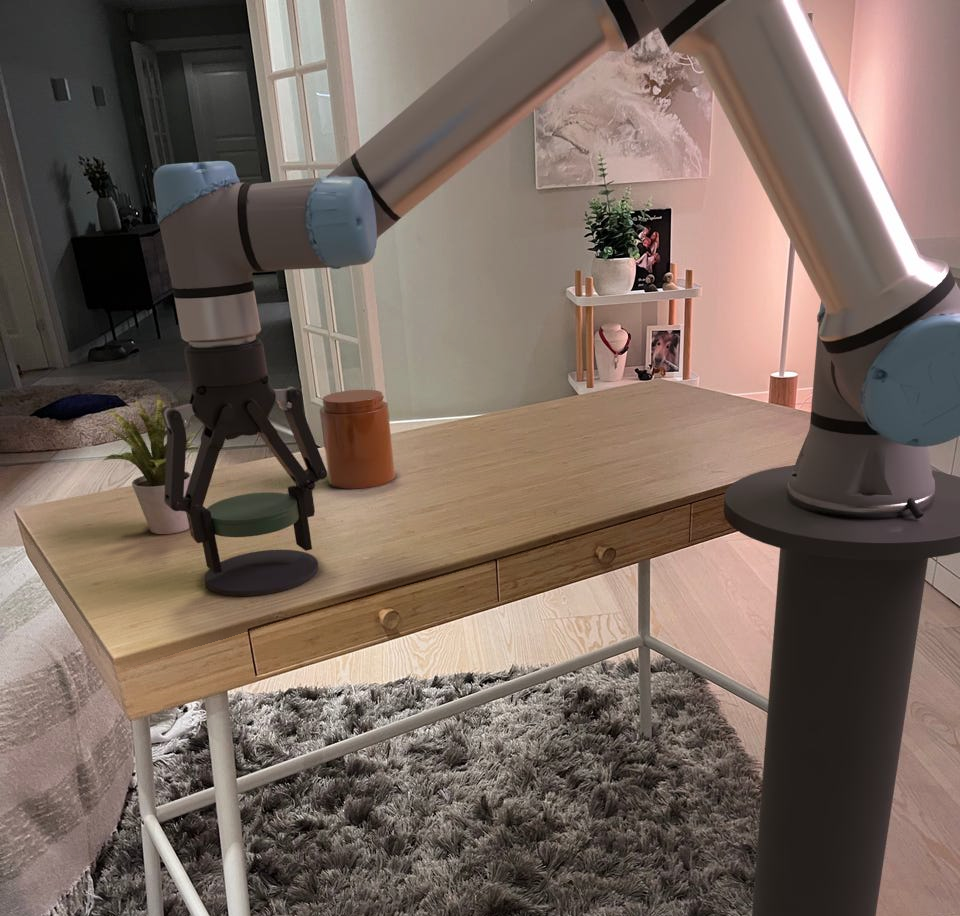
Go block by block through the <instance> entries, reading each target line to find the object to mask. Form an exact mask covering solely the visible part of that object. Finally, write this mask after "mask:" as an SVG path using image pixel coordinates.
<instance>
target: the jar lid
mask: <svg viewBox="0 0 960 916" xmlns="http://www.w3.org/2000/svg"><path fill="white" fill-rule="evenodd" d="M206 509H208V510H209V511H210V512H211V517H212V523H213V528H214V533H215V536H218V537H225V538H249V537H250V538H251V537H256V536H263V535H268V534H272V533H275V532H279V531H282V530H284V529H287V528H289V527H291V526H292V525H293V524H294V523H295V522H296V521H297V520H298V519H299V512H298V506H297V500H296V498H295V497H293V496H292V495H289V493H285V492H273V491H270V492H269V491H266V492H265V491H263V492H253V493H252V492H251V493H245V494H240V495H235V496H232V497H227V498H224V499H221V500H218V501H216V502H214V503H212V504H211V505H209V506H208V507H207V508H206ZM293 526H294V525H293Z"/></svg>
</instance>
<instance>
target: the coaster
mask: <svg viewBox="0 0 960 916" xmlns="http://www.w3.org/2000/svg"><path fill="white" fill-rule="evenodd" d="M220 564H221V569H222V572H220V573H216V574H215V573H214V572H213V571H211V570H210V569H209V568H208V570H207V571H206V572H205V574H204V583H205V587H207V589H208V590H210V591H212V592H214V593H215V594H220V595H224V596H229V597H256V596H263V595H264V596H265V595H269V594H276V593H280V592H283V591H287V590H290V589H294V588H297V587H298V586H302V585H303V584H304V583H307V582H308V581H310V580H311V579H312V578H314V577H316V574H317V573H318V572H319V568H320V567H319V561H318V560H317V558H316V557H315V556H314V555H312V554H311V553H308V552H306V551H300V550H295V549H266V550H257V551H251V552H247V553H243V554H239V555H235V556H232V557H229V558H226V559H224V560H221V561H220Z"/></svg>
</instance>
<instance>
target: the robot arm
mask: <svg viewBox="0 0 960 916" xmlns="http://www.w3.org/2000/svg"><path fill="white" fill-rule="evenodd" d="M804 5H805V4H804V3H803V1H802V0H531V1H530V2H528V4H526V5H525V6H524V7H523V8H522V9H521V10H519V11H518V12H517V13H516V14H514V16H512V17H511V18H510V19H508V21H506V22H505V23H504V24H503V25H502V26H501V27H499V28H498V29H497V30H496V31H494V32H493V33H492V34H491V35H490V36H489V37H488V38H487V39H485V40H484V41H483V42H482V43H480V44H479V45H478V46H477V47H476V48H475V49H473V50H472V52H470V53H469V54H468V55H466V56H465V57H464V58H463V59H462V60H461V61H460V62H459V63H457V64H456V65H455V66H454V67H453V68H451V70H449V71H448V72H447V73H446V74H444V75H443V76H442V77H441V78H440V79H439V80H438V81H436V82H435V83H434V84H433V85H431V86H430V87H429V88H428V89H427V90H426V91H424V92H423V93H422V94H421V95H420V96H419V97H418V98H417V99H415V100H414V101H413V102H412V103H411V104H410V105H408V106H407V107H406V108H405V109H404V110H402V111H401V112H400V113H399V114H398V115H397V116H395V117H394V118H393V119H392V120H391V121H389V122H388V123H387V124H386V125H385V126H383V128H381V130H379V131H378V132H377V133H376V134H375V135H373V136H372V137H371V138H370V139H368V140H367V141H366V142H365V143H364V144H363V145H361V146H360V147H359V148H358V149H356V151H355V152H354V153H353V154H352V155H350V156H349V157H348V158H346V159H345V160H344V161H343V162H341V163H340V164H339V165H338V166H337V167H335V169H333V170H332V171H331V172H329V174H327V175H326V176H320V177H312V178H311V177H310V178H300V179H289V180H287V179H286V180H279V181H277V180H276V181H268V182H258V183H255V182H241V181H240V177H238V175H237V169H236V167H235V165H234V164H233V163H232V162H230V161H227V160H215V161H213V160H212V161H201V162H199V161H198V162H197V161H196V162H181V163H170V164H163V165H161V166H159V167H158V168H157V169H156V170H155V172H154V173H153V179H152V182H153V188H154V196H155V204H156V211H157V218H156V221H157V225H158V226H159V230H160V234H161V239H162V243H163V249H164V253H165V258H166V262H167V263H166V264H167V267H168V273H169V277H170V282H171V287H172V290H171V291H172V293H173V294H172V295H173V297H174V304H175V309H176V315H177V320H178V321H177V322H178V325H179V332H180V336H181V337H180V339H182V340H183V341H185V342H188V345H186V346H185V349H184V350H183V353H184V359H185V365H186V369H187V375H188V379H189V385H190V389H191V390H190V391H191V394H190V399H189V401H188V403H186V404H181V405H177V406H175V407H172V406H169V405H168V406H167V405H166V406H165V407H164V408H163V409H162V415H163V419H164V422H165V429H166V430H167V435H166V443H167V450H166V472H165V494H164V501H165V503H166V504H167V505H168V506H169V507H170V508H171V509H172V510H174V511H185V512H186V514H187V519H188V523H189V532H190V537H191V538H192V539H193V541H194V542H196V543H197V544H201V543H202V548H203V553H204V558H205V564H206V567H207V568H208V570H209V569H210V570H211V571H213V572H214V573H215V574H216V573H220V572H222V569H221V564H220V562H221V560H220V559H221V558H220V555H219V549H218V543H217V538H216V535H215V533H214V528H213V523H212V517H211V512H210V511H209V510H208V509H207V508H206V507H205V506H204V503H205V500H206V497H207V495H208V494H207V493H208V492H209V491H208V490H209V487H210V483H211V481H212V478H213V474H214V471H215V468H216V465H217V462H218V458H219V454H220V451H221V450H223V448H224V445H225V441H230V440H235V439H236V438H239V437H241V436H248V437H250V436H255V435H258V436H259V437H260V438H261V440H262V442H263V443H264V444H265V445H266V446H267V448H268V449H269V451H270V452H271V453H272V455H273V456H274V457H275V459H276V460H277V461H278V463H279V464H280V466H282V468H283V470H285V472H286V473H287V475H288V476H289V477H290V479H291V481H293V482H294V484H295V485H290V486H287V494H289V495H292V496H293V497H295V498H296V500H297V506H298V512H299V519H298V520H297V521H296V522H295V523H294V524H293V530H294V539H295V543H296V545H297V546H298V547H299V548H301V549H302V550H304V552H307V551H311V550H313V546H312V545H313V543H312V538H311V537H312V536H311V532H310V525H309V518H311V517H314V516H315V512H316V511H315V502H314V496H313V495H314V494H313V490H314V489H315V487H316V483H317V482H318V481H320V480H321V481H322V480H325V479H326V478H327V477H328V470H327V467H326V466H325V463H324V461H323V459H322V456H321V453H320V451H319V448H318V445H317V443H316V440H315V438H314V435H313V433H312V431H311V428H310V425H309V423H308V419H307V418H306V416H305V413H304V403H303V393H302V390H301V389H299V388H296V387H293V386H291V385H286V386H284V387H283V388H273V387H272V385H271V383H270V381H269V373H268V366H267V361H266V354H265V348H264V342H263V341H262V340H261V339H260V338H258V337H257V335H258V334H260V332H261V331H262V327H261V322H260V315H259V310H258V304H257V299H256V292H255V282H254V279H253V272H258V273H260V272H261V273H262V272H268V271H287V270H289V271H290V270H308V269H312V270H313V269H327V268H328V269H329V268H331V269H332V270H340V269H342V268H347V267H350V266H360V265H365V264H368V263H370V262H371V261H372V259H373V258H374V256H375V253H376V248H377V241H378V239H379V237H381V236H382V235H383V234H385V233H386V232H387V231H388V230H389V229H391V228H392V227H393V226H394V225H395V224H397V223H398V221H400V220H401V219H402V218H403V217H404V216H406V215H407V214H408V213H409V212H411V211H412V210H413V209H414V208H415V207H417V206H418V205H419V204H420V203H422V202H423V201H424V200H425V199H427V198H428V197H429V196H431V194H433V193H434V192H435V191H437V190H438V189H439V188H440V187H442V186H443V185H444V184H445V183H446V182H447V181H449V180H450V179H452V178H453V177H454V176H455V175H456V174H458V173H459V172H460V171H462V169H464V168H465V167H466V166H468V165H469V164H470V163H471V162H473V161H474V160H475V159H477V158H478V157H479V156H480V155H482V154H483V152H485V151H486V150H487V149H489V148H490V147H491V146H492V145H494V144H495V143H496V142H497V141H499V140H500V139H501V138H503V136H505V135H506V134H507V133H508V132H510V131H511V130H512V129H513V128H515V127H516V126H517V125H519V124H520V123H521V122H522V121H524V120H525V119H526V118H527V117H528V116H530V115H531V114H532V113H533V112H535V111H536V110H537V109H538V108H540V107H541V106H542V105H543V104H544V103H546V102H547V101H548V100H550V99H551V98H552V97H553V96H554V95H556V94H558V92H559V91H560V90H562V89H563V88H565V87H566V86H567V85H568V84H569V83H571V82H572V81H573V80H574V79H575V78H576V77H578V76H579V75H581V74H582V73H583V72H584V71H585V70H587V69H588V68H589V67H590V66H591V65H594V63H596V62H597V61H598V60H599V59H600V58H602V57H603V56H604V55H605V54H606V53H608V52H618V53H626V52H628V51H629V50H630V49H631V48H632V47H634V46H635V45H636V44H637V43H639V42H640V41H641V40H642V39H644V38H646V37H647V36H648V35H649V34H651V33H652V32H654V31H656V30H657V29H658V31H659V33H660V34H661V37H662V39H663V40H664V42H665V44H666V46H667V49H668V50H669V51H670V52H672V53H676V54H682V55H686V56H691V57H692V58H694V59H695V60H697V62H698V64H699V66H700V68H701V69H702V72H703V73H704V75H705V78H706V79H707V81H708V84H709V86H710V87H711V89H712V91H713V94H714V95H715V97H716V99H717V101H718V103H719V105H720V107H721V109H722V111H723V112H724V114H725V116H726V118H727V121H728V122H729V124H730V126H731V128H732V130H733V132H734V134H735V136H736V138H737V140H738V142H739V143H740V146H741V147H742V149H743V152H744V153H745V155H746V158H747V159H748V161H749V163H750V165H751V167H752V169H753V171H754V173H755V174H756V177H757V178H758V180H759V182H760V184H761V186H762V189H763V190H764V192H765V194H766V196H767V198H768V200H769V202H770V204H771V206H772V207H773V209H774V212H775V214H776V216H777V217H778V219H779V221H780V224H781V225H782V228H783V229H784V231H785V233H786V235H787V237H788V239H789V241H790V242H791V244H792V245H791V246H792V247H793V249H794V251H795V252H796V254H797V257H798V259H799V260H800V262H801V264H802V266H803V269H804V270H805V272H806V274H807V276H808V278H809V280H810V281H811V284H812V285H813V287H814V290H815V291H816V294H817V295H818V297H819V299H820V305H819V312H818V313H817V315H816V316H817V317H816V323H817V332H816V333H817V335H816V346H815V358H814V369H813V384H812V394H811V395H812V396H811V397H812V398H811V407H810V409H811V410H810V421H809V429H808V431H807V434H806V437H805V439H804V442H803V444H802V445H801V449H800V451H799V453H798V456H797V458H796V460H795V464H794V465H795V466H794V469H793V471H792V472H791V474H790V477H789V481H788V489H787V498H788V500H789V501H790V502H791V503H792V504H794V505H795V506H797V507H799V508H801V509H803V510H806V511H809V512H812V513H816V514H820V515H825V516H830V517H837V518H845V519H859V520H881V519H894V518H902V517H907V516H912V515H914V517H915V518H916V519H918V518H921V517H922V516H923V515H924V514H923V511H926V510H927V509H929V508H930V507H931V506H932V505H933V501H934V495H935V480H934V478H933V476H932V470H933V469H932V463H931V458H930V451H929V448H928V447H932V446H933V447H934V446H937V445H938V446H939V445H942V444H944V443H948V442H950V441H953V440H955V439H957V438H958V437H960V287H959V285H958V284H957V281H956V279H955V277H954V274H953V273H952V271H951V269H950V266H949V264H948V262H947V261H945V260H941V259H936V258H932V257H927V256H925V255H923V254H921V253H920V251H919V248H918V246H917V244H916V241H915V239H914V237H913V236H912V233H911V231H910V229H909V227H908V224H907V223H906V220H905V218H904V216H903V214H902V212H901V210H900V208H899V205H898V203H897V202H896V199H895V197H894V195H893V193H892V191H891V188H890V187H889V184H888V182H887V180H886V178H885V176H884V173H883V171H882V169H881V167H880V166H879V163H878V161H877V158H876V157H875V155H874V153H873V150H872V148H871V146H870V144H869V141H868V140H867V138H866V135H865V132H864V131H863V129H862V127H861V125H860V123H859V121H858V118H857V116H856V114H855V112H854V110H853V108H852V105H851V103H850V101H849V99H848V97H847V95H846V92H845V91H844V88H843V86H842V84H841V82H840V80H839V77H838V76H837V73H836V72H835V69H834V67H833V65H832V63H831V61H830V59H829V56H828V55H827V53H826V50H825V48H824V46H823V44H822V42H821V39H820V37H819V34H818V33H817V31H816V29H815V26H814V25H813V22H812V20H811V18H810V16H809V14H808V12H807V10H806V7H805V6H804ZM275 402H276V403H277V405H278V407H279V408H280V409H282V410H283V412H284V415H285V419H286V421H287V423H288V425H289V429H290V431H291V433H292V435H293V438H294V441H295V442H296V445H297V448H298V450H299V453H300V455H301V457H302V460H303V463H304V465H305V468H306V469H304V467H303V466H302V465H301V463H300V462H299V461H298V460H297V458H296V456H295V455H294V454H293V452H292V451H291V450H290V449H289V447H288V445H287V444H286V443H285V441H284V440H283V439H282V438H281V436H280V435H279V433H278V430H277V429H276V428H275V427H274V425H273V423H272V422H271V421H270V419H269V418H268V417H269V416H270V415H269V414H270V412H271V410H272V408H273V406H274V405H275ZM193 416H195V418H196V419H198V420H199V421H200V422H201V423H202V424H203V429H202V432H201V435H200V444H199V446H200V447H199V450H198V451H197V455H196V458H195V461H194V464H193V468H192V471H191V473H190V474H191V478H190V481H189V484H188V487H187V491H186V494H185V497H183V496H184V476H185V472H186V460H185V459H186V458H187V457H186V456H187V455H186V454H187V451H186V438H187V432H186V429H188V428H189V427H190V425H191V424H190V423H191V421H190V420H191V419H192V417H193Z"/></svg>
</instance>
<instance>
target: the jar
mask: <svg viewBox="0 0 960 916" xmlns="http://www.w3.org/2000/svg"><path fill="white" fill-rule="evenodd" d="M384 397H385V396H384V395H383V392H382V391H379V390H376V389H375V390H374V389H351V390H349V389H348V390H343V391H337V392H332V393H329V394H326V395H324V396H323V397H322V405H323V406H322V407H321V408H320V409H319V415H320V416H319V417H320V425H321V430H322V431H321V433H322V440H323V447H324V455H325V461H326V471H327V477H328V478H327V479H328V483H329V485H330V486H332V487H335V488H339V489H348V490H352V489H353V490H355V489H356V490H357V489H367V488H374V487H378V486H382V485H385V484H388V483H390V482H391V481H393V480H394V479H395V478H396V471H395V459H394V451H393V450H394V449H393V442H392V433H391V432H392V431H391V424H390V423H391V422H390V413H389V404H388V402H386V401H384Z"/></svg>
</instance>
